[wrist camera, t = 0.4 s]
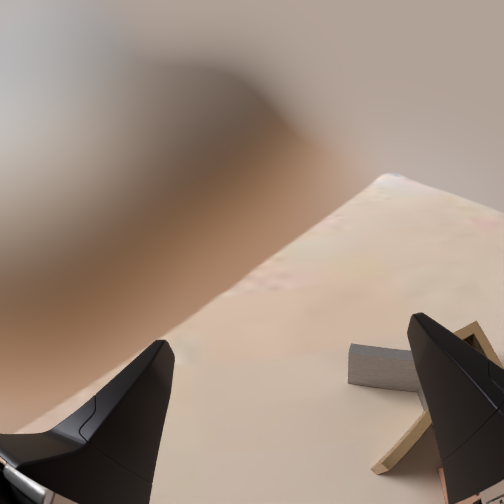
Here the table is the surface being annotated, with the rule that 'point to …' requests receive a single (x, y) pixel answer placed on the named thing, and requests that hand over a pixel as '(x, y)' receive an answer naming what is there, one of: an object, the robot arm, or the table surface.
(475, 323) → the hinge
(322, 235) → the table surface
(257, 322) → the table surface
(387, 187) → the table surface
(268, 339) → the table surface
